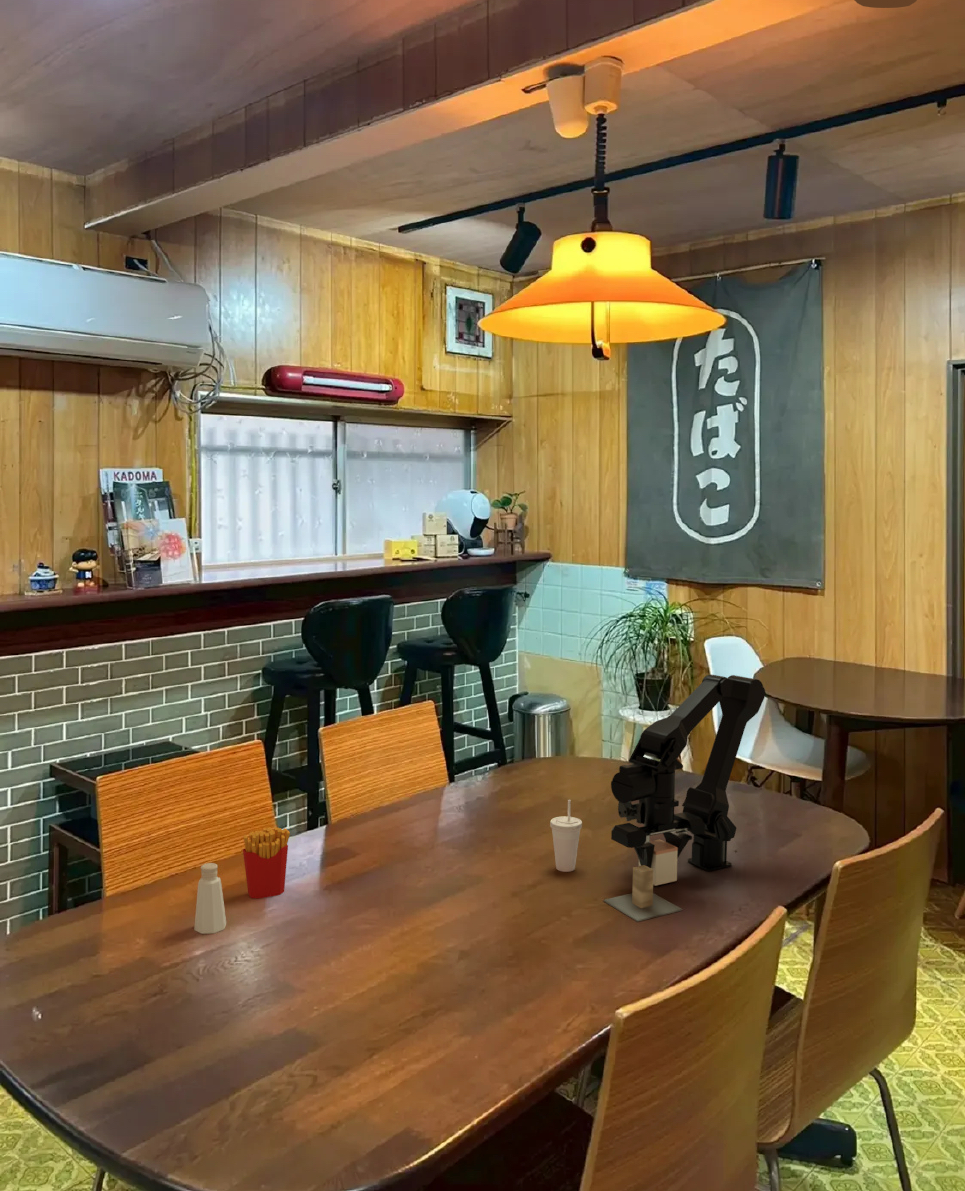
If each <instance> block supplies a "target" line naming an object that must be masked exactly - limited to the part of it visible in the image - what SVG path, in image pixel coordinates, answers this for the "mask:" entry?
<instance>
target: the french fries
mask: <svg viewBox="0 0 965 1191" xmlns="http://www.w3.org/2000/svg"><path fill="white" fill-rule="evenodd" d="M290 835H291V833H290V831H289V830H287V828H283V829H282V828H279V826H277V827H274V828H272V827H271V826H270V827H269V826H268V827H263V828H262V830H255V831H250V832H248V835H247V834H246V835H243V842H244V843H243V844H244V848H242V853H243V861H244V862H243V863H244V870H245V877H246V886H247V894H249V895H248V896H249V897H250V899H265V898H271V897H276V896H279V895H282V894H283V893H285V885H286V875H287V863H288V862H287V861H288V851H289V845H288V843H289V839H290ZM264 897H265V898H264Z"/></svg>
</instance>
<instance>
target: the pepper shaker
mask: <svg viewBox="0 0 965 1191" xmlns="http://www.w3.org/2000/svg"><path fill="white" fill-rule="evenodd" d="M200 873H201V874H200V875H201V877H200V879H199V881H198V882H197V891H196V892H197V894H196V906H195V907H196V908H195V919H194V927H193V928H194V929H193V930H194V931H195V932H197V933H199V934H201V935H207V934H208V935H209V934H213V935H214V934H217V933H218V932H222V931H223V930H225V928H226V925H227V918H226V917H227V916H226V911H225V910H226V909H225V903H224V894H223V885H222V880H221V877H218V864H216V863H214V862H208V863H203V864H202V865H201V866H200Z"/></svg>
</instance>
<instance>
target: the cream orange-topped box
mask: <svg viewBox="0 0 965 1191" xmlns="http://www.w3.org/2000/svg"><path fill="white" fill-rule="evenodd" d="M650 843H651V844H653V845H655V847H654V852H653V858H652V864H651V869H653V886H659V885H665V884H668V883H673V882H677V880H678V859H677V852H678V847H676V846H674V845H671V844H669V843H667V842H666V840H663V839H661V838H660V839H655V840H654V839H653V840H650ZM638 866H641V864H640V861H639V860H638Z"/></svg>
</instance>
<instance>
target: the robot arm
mask: <svg viewBox="0 0 965 1191" xmlns="http://www.w3.org/2000/svg"><path fill="white" fill-rule="evenodd" d="M765 696H766V690H765V687H764V684H763V683H762V681H760V679H756V678H751V677H746V676H741V675H735V674H731V675H729V676H728V677H727V676H726V677H725V676H721V675H716V674H708V675H705V676H704V677H703V679H702V681H701V683H700V684H699V685H698V686H697V687H696V688H695V689H694V690H693V691H692V692H691V693H690V694H689V696H687V698H686V699H685V700H684V701H683V702H682V703H681V704H680V705H679V706H678V707H677V708H676V709H675V710H674V711H673V712H672V713H671V714H670V715H668V716H667V717H665V718H662V719H659V720H656V721H654V722H653V723H652V724H650V725H648V727H647V726H646V728H645V729H644V730H643V731H642V733H641V735H640V737H639V740H638V741H637V743H636V746H635V748H634V750H633V752H632V753H631V755H630V758H629V760H628V763H629V765H628V764H623V765H620V766H619V768H618V769H619V772H617V773H615V774H614V775H613V777H612V780H611V782H610V789H611V792H612V795H613V797H614V799H615V800H616V801H617V802H618V806H617V812H618V816H619V818H621V819H622V818H625V819H626V823H621V824H615V825H614V826H613V827H612V828H611V836H610V837H611V838H610V839H611V841H614V842H616V843H618V844H619V845H622V846H623V847H625V848H629V849H633V848H634V850H635V852H636V855H637V858H638V862H639V861H640V864H641V866H642V865H645V866H647V867H649V868H651V864H652V858H653V852H654V847H655V845H653V844H651V843H650V841H651V836H656V835H661V834H663V837H664V841H665V842H667V843H669V844H671V845H674V846H676V847H678V852H677V860H678V858H680V857H679V856H680V855H681V854H682V852H683V851H684V849H685V847H686V846H687V844H688V843H689V841H691V840H693V842H691V857H689V858H687V862H688V863H690V864H692V865H694V866H697V867H698V868H700V869H703V870H705V871H706V872H707V871H708V872H710V871H711V872H712V871H715V870H719V869H724V868H729V867H732V866H733V863H732V862H730V861H728V860H727V859H728V858H727V857H728V855H727V854H728V842H731V839H732V840H733V839H734V838H735V836H736V831H737V826H736V825H735V824H734V823H733V821H732V820H731V819H730V818H729V817H728V815H729V809H730V804H729V800H728V796H727V792H726V791H727V788H728V785H729V781H730V778H731V774H732V771H733V768H734V765H735V762H736V758H737V756H738V753H739V752H738V751H739V748H740V746H741V742H742V739H743V736H744V732H745V729H746V726H747V723H748V722H749V721H750V720H751V719H752V718H754V717H755V716H756V715H757V714H758V713H759V711H760V709H761V707H762V704H763V702H764V700H765ZM718 703H719V706H720V710H721V713H722V714H721V719H720V722H719V725H718V728H717V732H716V735H715V736H714V737H715V738H714V741H713V745H712V747H711V750H710V755H709V757H708V760H707V764H706V767H705V768H704V769H705V770H704V773H703V776H702V779H701V782H700V783H699V784H698V785H697V786H696V787H689V788H688V789H687V791H686V795H685V800H684V801H683V803H682V804H681V807H683V808H682V812H678V813H675V808H676V807H679V806H680V805H679V803H680V801H679V800H678V799H675V797H676V796H675V795H676V794H675V793H676V792H675V791H676V770H681V769H683V768H684V764H683V763H681V762H680V761H679V760H678V758H679V757H680V755H682V753H683V751H684V750H685V748H686V747H687V745H688V738H689V735H690V734H691V732H692V731H693V730H694V729H695V728H696V727H697V725H698V724H700V723H701V721H703V719H704V718H705V717H706V716H708V714H709V713H710V712H711V711H712V710H713V709H714V708H715V707H716V706H717V705H718ZM646 756H647V757H646ZM649 757H650V758H649ZM656 759H657V760H656ZM637 801H638V802H637ZM632 802H636V803H632ZM634 820H636V823H638V824H640V825H641V824H642V825H643V826H637V825H635V824H633V823H630V821H634ZM689 832H690V834H688V833H689ZM692 835H693V836H692Z"/></svg>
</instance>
